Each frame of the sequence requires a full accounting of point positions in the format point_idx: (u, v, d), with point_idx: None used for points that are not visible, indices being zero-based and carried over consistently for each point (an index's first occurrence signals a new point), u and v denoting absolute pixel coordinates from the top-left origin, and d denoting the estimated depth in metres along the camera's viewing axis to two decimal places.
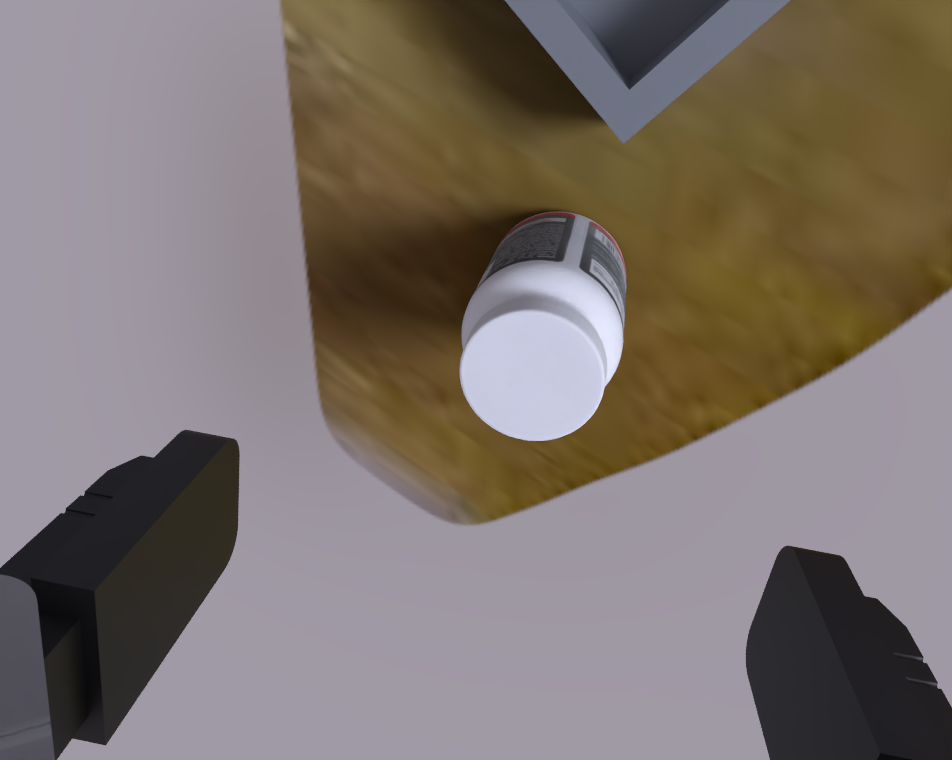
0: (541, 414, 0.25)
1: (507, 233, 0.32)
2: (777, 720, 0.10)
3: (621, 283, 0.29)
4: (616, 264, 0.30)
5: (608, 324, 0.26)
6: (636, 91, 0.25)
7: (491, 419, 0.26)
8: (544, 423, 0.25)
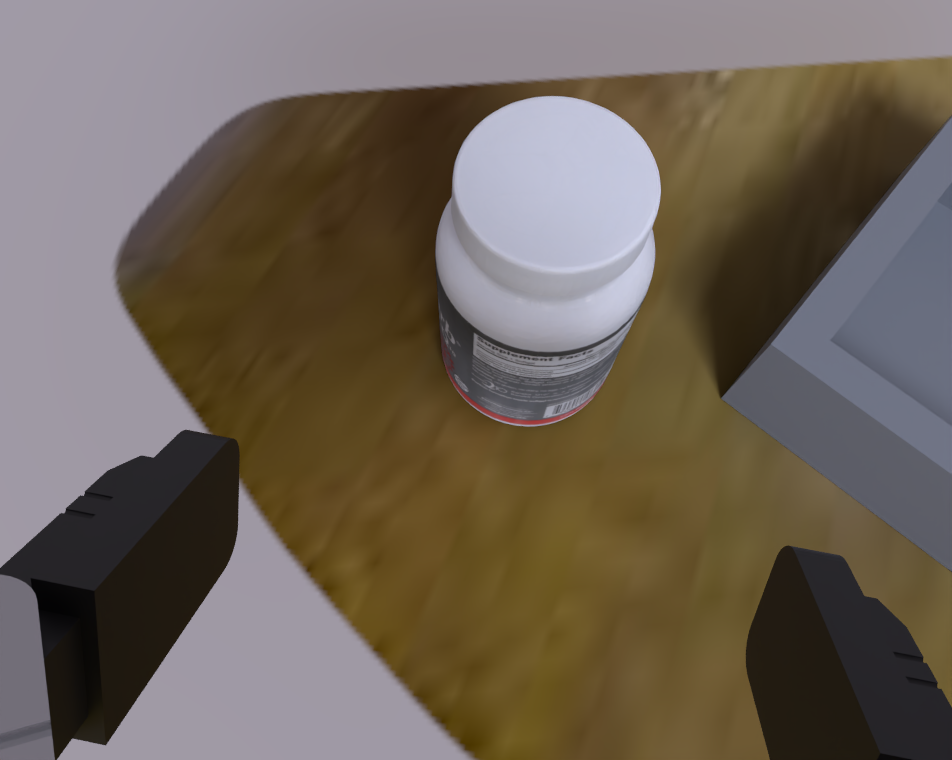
0: (503, 197, 0.17)
1: None
2: (777, 720, 0.10)
3: (583, 382, 0.22)
4: (594, 382, 0.23)
5: (602, 314, 0.19)
6: (831, 348, 0.22)
7: (479, 137, 0.18)
8: (489, 202, 0.17)
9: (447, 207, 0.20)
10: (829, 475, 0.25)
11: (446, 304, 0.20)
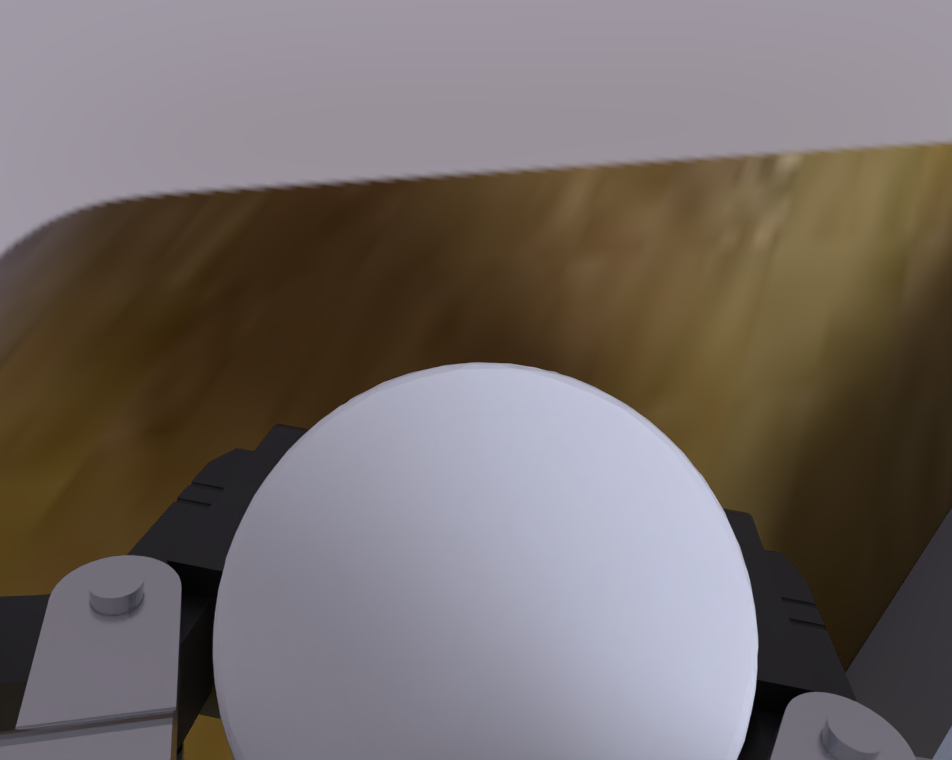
0: (341, 678, 0.06)
1: None
2: None
3: None
4: None
5: None
6: None
7: (292, 486, 0.07)
8: (301, 697, 0.06)
9: None
10: None
11: None
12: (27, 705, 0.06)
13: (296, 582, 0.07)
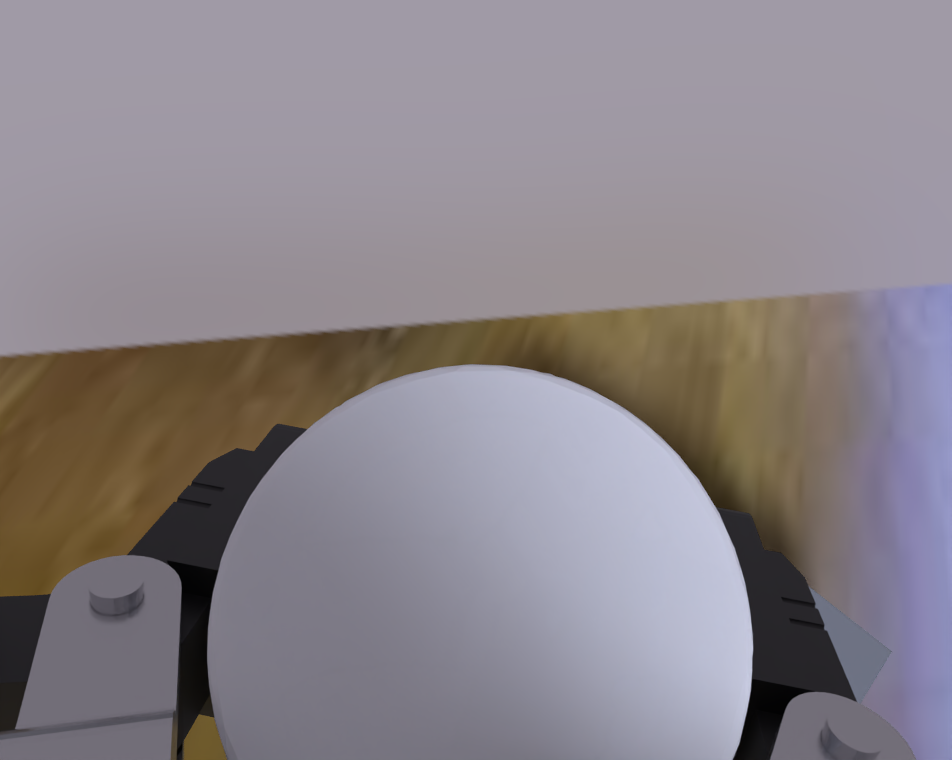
0: (335, 681, 0.06)
1: None
2: None
3: None
4: None
5: None
6: None
7: (287, 489, 0.07)
8: (295, 700, 0.06)
9: None
10: None
11: None
12: (27, 705, 0.06)
13: (291, 585, 0.07)
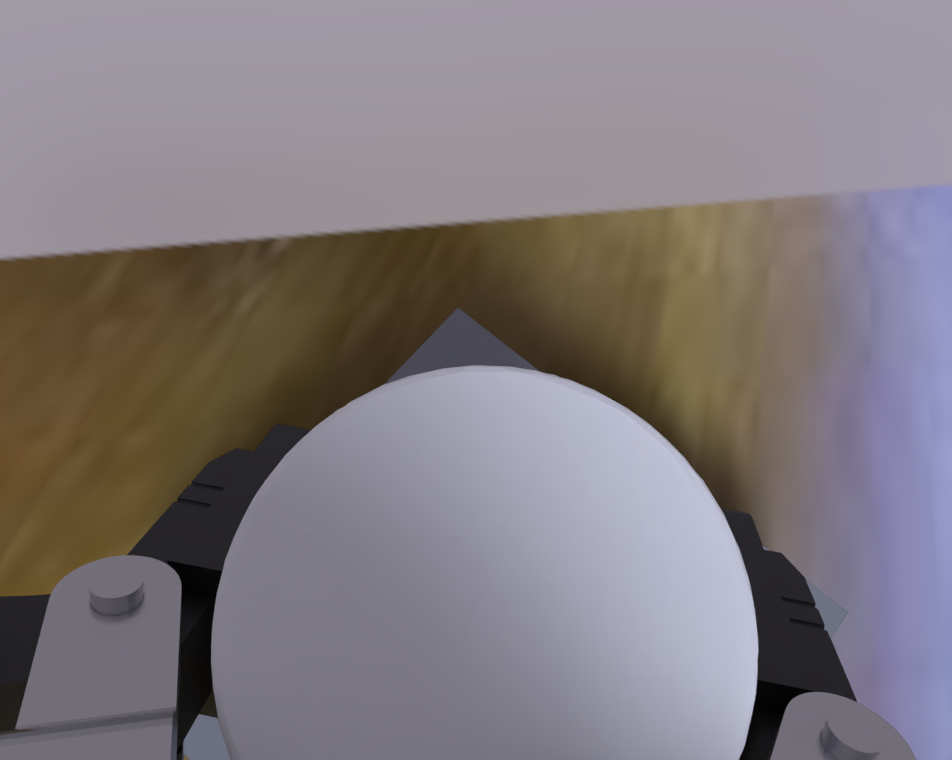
0: (339, 683, 0.06)
1: None
2: None
3: None
4: None
5: None
6: None
7: (290, 490, 0.07)
8: (300, 702, 0.06)
9: None
10: None
11: None
12: (27, 705, 0.06)
13: (294, 586, 0.07)
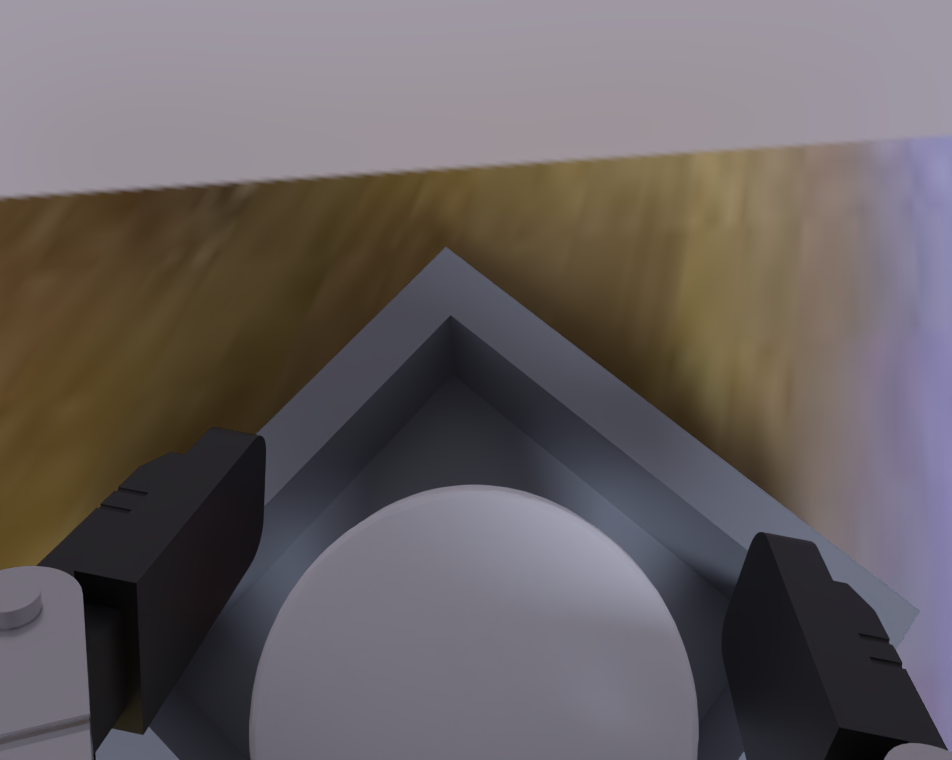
0: None
1: None
2: (748, 701, 0.10)
3: None
4: None
5: None
6: None
7: (312, 602, 0.08)
8: None
9: None
10: None
11: None
12: None
13: (317, 686, 0.08)
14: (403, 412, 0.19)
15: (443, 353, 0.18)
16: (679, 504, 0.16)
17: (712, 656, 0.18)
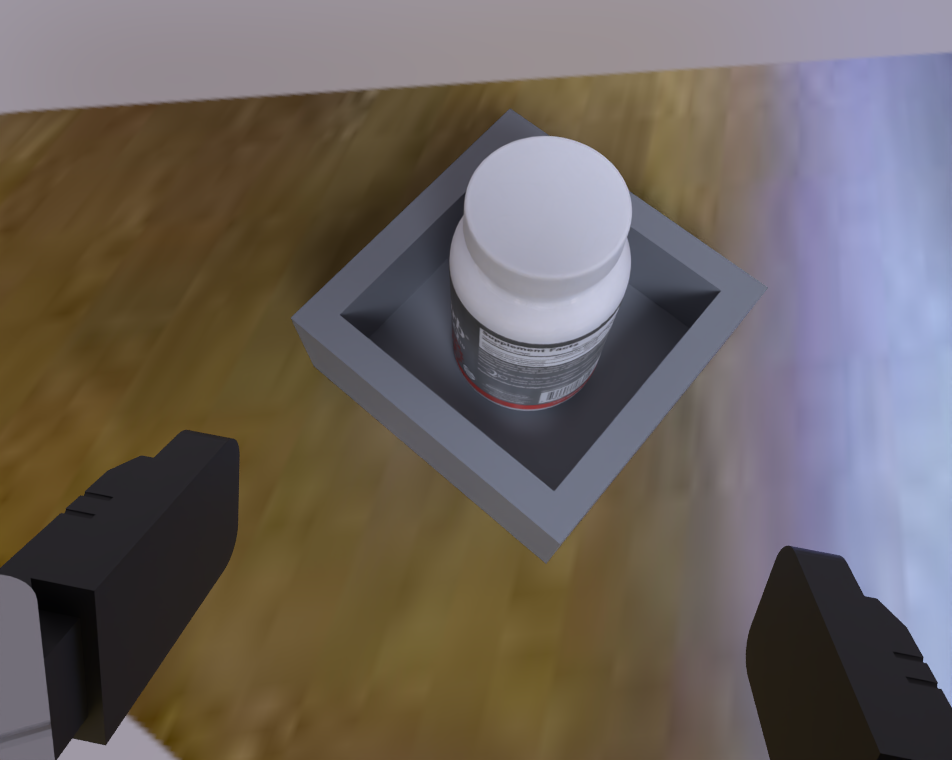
0: (504, 218, 0.21)
1: None
2: (777, 720, 0.10)
3: (571, 372, 0.26)
4: (581, 372, 0.27)
5: (584, 313, 0.23)
6: (338, 320, 0.27)
7: (486, 169, 0.22)
8: (493, 222, 0.21)
9: (459, 224, 0.24)
10: (387, 427, 0.30)
11: (457, 304, 0.24)
12: None
13: (489, 194, 0.21)
14: None
15: None
16: (641, 241, 0.29)
17: (663, 345, 0.31)
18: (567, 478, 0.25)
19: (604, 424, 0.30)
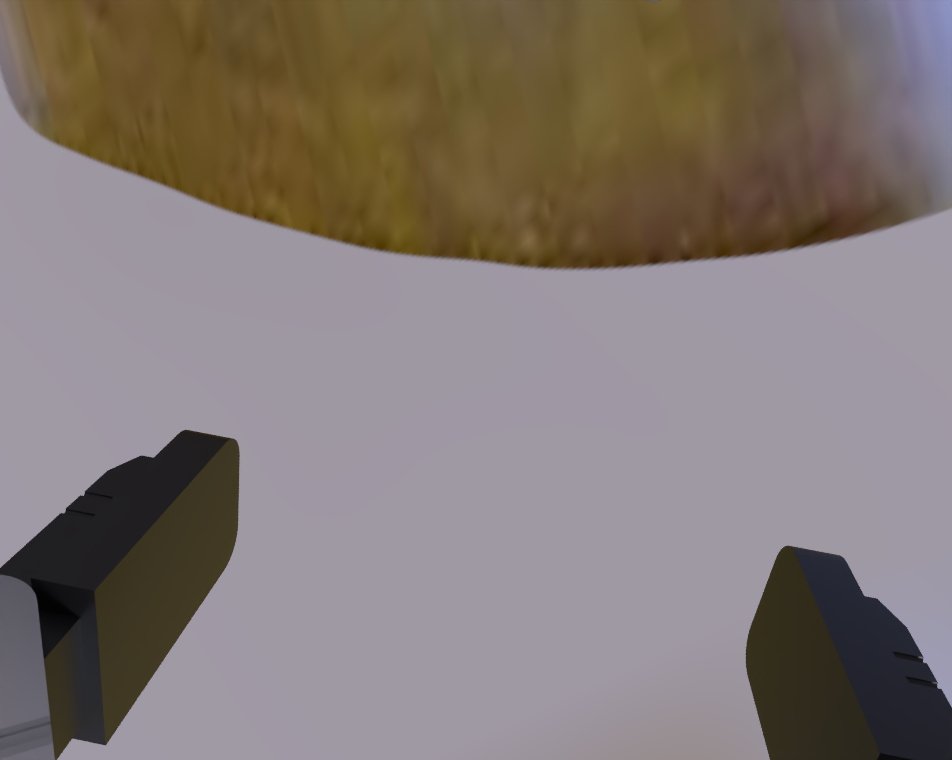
0: None
1: None
2: (777, 720, 0.10)
3: None
4: None
5: None
6: None
7: None
8: None
9: None
10: None
11: None
12: None
13: None
14: None
15: None
16: None
17: None
18: None
19: None
